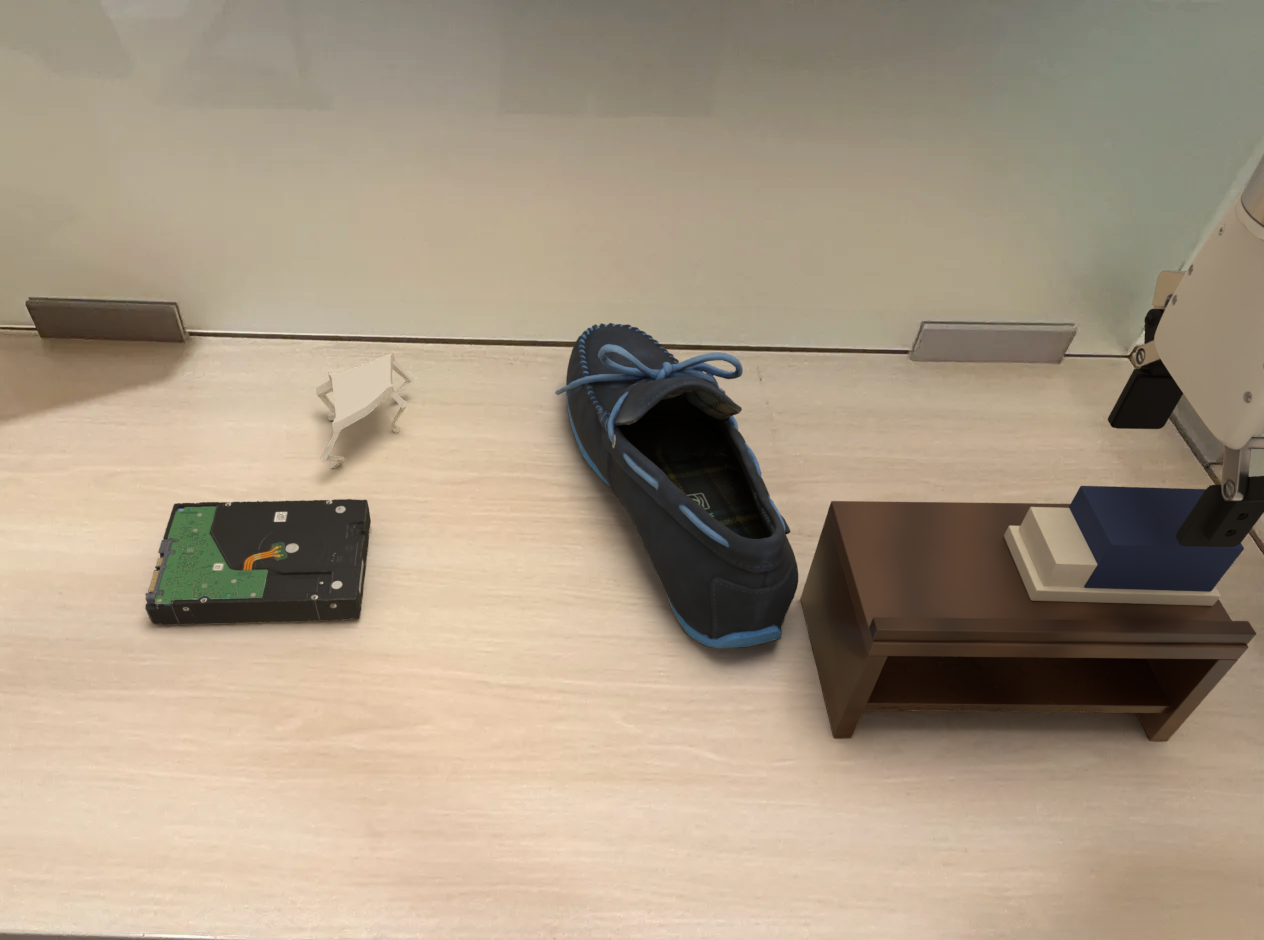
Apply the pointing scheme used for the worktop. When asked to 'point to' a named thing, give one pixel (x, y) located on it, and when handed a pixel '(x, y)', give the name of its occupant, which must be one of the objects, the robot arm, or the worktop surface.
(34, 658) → the worktop surface
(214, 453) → the worktop surface
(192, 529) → the disk drive
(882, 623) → the shoe shelf
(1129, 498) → the navy box on tray
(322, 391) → the cream bent-legged table
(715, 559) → the moccasin
